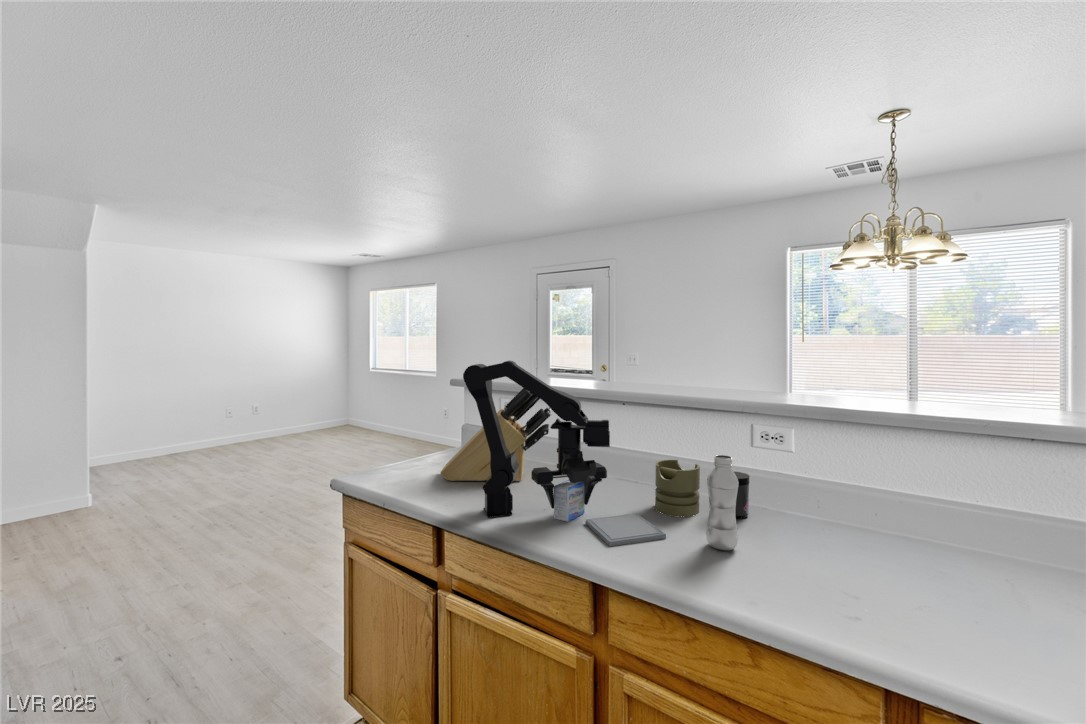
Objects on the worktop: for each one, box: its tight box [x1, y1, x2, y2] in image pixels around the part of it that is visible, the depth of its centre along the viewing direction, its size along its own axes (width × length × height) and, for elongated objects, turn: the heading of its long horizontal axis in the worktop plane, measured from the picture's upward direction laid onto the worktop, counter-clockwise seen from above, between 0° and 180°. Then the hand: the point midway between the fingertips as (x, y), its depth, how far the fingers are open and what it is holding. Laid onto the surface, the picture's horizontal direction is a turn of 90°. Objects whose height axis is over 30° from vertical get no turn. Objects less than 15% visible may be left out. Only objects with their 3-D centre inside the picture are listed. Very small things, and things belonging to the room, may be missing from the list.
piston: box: [654, 459, 701, 518], centre depth 133 cm, size 11×12×11 cm
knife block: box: [440, 387, 552, 482], centre depth 163 cm, size 11×35×31 cm, turn 89°
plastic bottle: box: [705, 454, 739, 551], centre depth 109 cm, size 6×7×20 cm
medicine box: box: [553, 479, 586, 523], centre depth 128 cm, size 8×4×9 cm, turn 143°
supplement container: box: [732, 470, 751, 520], centre depth 129 cm, size 7×7×10 cm
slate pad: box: [585, 513, 667, 547], centre depth 119 cm, size 14×14×1 cm
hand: (569, 506), depth 129 cm, fingers closed on medicine box, 9 cm apart
